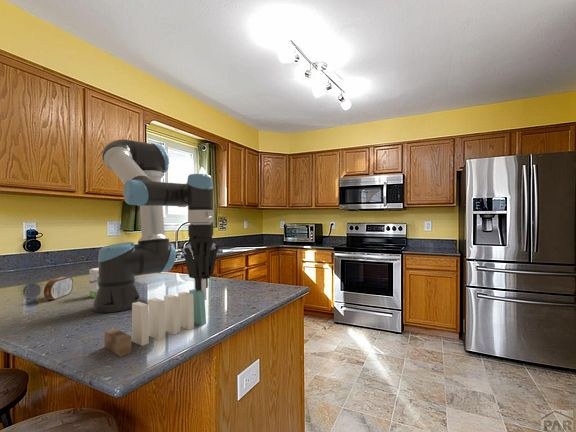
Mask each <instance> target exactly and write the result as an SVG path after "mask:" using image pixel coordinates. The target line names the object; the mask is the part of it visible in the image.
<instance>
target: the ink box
mask: <svg viewBox="0 0 576 432" xmlns="http://www.w3.org/2000/svg"><path fill="white" fill-rule="evenodd" d="M88 273H89V283H88V284H89V297H90V298H94V299H95V297H96V295H97V292H98V289H99V267H96V268H94V267H93V268H90V269H89V272H88Z"/></svg>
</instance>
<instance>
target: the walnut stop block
mask: <svg viewBox="0 0 576 432" xmlns="http://www.w3.org/2000/svg"><path fill="white" fill-rule="evenodd" d="M104 348H105V349H107V350H108V351H111V352H112V353H114V354H116V355H117V356H119V357H121V358H122V357H123V356H126V355H130V354H132V336H131V335H129V334H127V333H125V332H123V331H121V330H119V329H117V328H110V329H108V330H104Z"/></svg>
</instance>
